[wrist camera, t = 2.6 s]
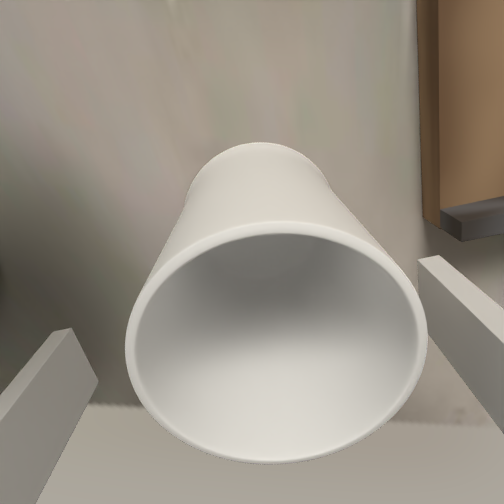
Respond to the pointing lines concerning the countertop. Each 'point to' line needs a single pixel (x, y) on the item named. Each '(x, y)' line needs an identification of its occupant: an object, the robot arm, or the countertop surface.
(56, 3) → the countertop surface
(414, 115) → the countertop surface
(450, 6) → the flat wooden box
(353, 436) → the mug
